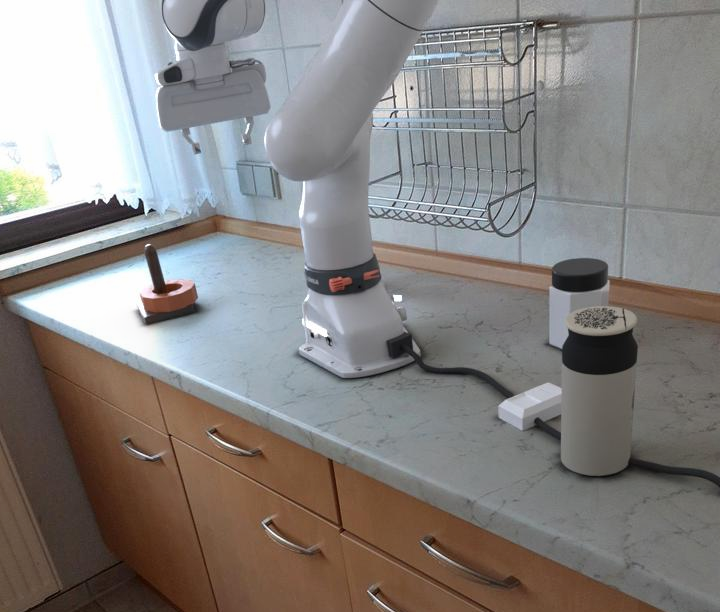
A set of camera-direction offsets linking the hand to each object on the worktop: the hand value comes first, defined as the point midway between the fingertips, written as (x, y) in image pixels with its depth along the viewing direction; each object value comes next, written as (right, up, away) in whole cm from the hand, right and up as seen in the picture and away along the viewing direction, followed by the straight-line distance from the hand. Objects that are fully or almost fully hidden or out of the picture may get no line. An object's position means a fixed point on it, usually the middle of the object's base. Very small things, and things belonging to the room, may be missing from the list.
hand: (222, 149), depth 146 cm
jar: (+60, -40, -22) cm, 75 cm away
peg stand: (-14, -27, +15) cm, 34 cm away
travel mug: (+54, -59, -51) cm, 95 cm away
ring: (-13, -25, +15) cm, 32 cm away
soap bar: (+49, -52, -40) cm, 82 cm away
